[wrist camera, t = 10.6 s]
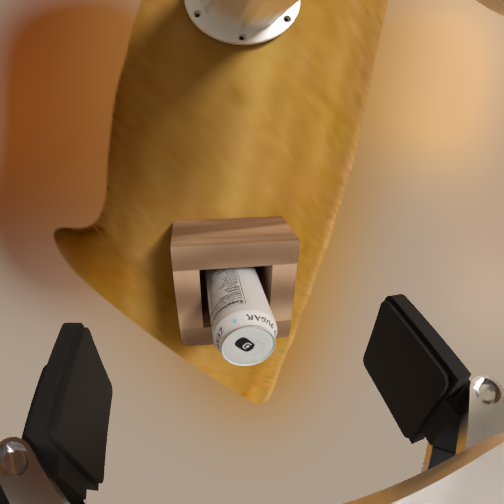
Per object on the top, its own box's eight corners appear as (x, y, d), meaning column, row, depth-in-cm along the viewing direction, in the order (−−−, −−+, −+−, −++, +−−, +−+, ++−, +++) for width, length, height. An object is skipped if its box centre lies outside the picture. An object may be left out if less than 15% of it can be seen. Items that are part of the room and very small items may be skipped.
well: (173, 221, 36) (170, 247, 30) (281, 216, 38) (299, 240, 32) (182, 311, 42) (182, 346, 36) (275, 304, 44) (288, 336, 38)
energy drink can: (227, 293, 42) (246, 378, 29) (194, 266, 39) (200, 351, 26) (261, 264, 41) (295, 343, 28) (229, 234, 38) (251, 309, 25)
